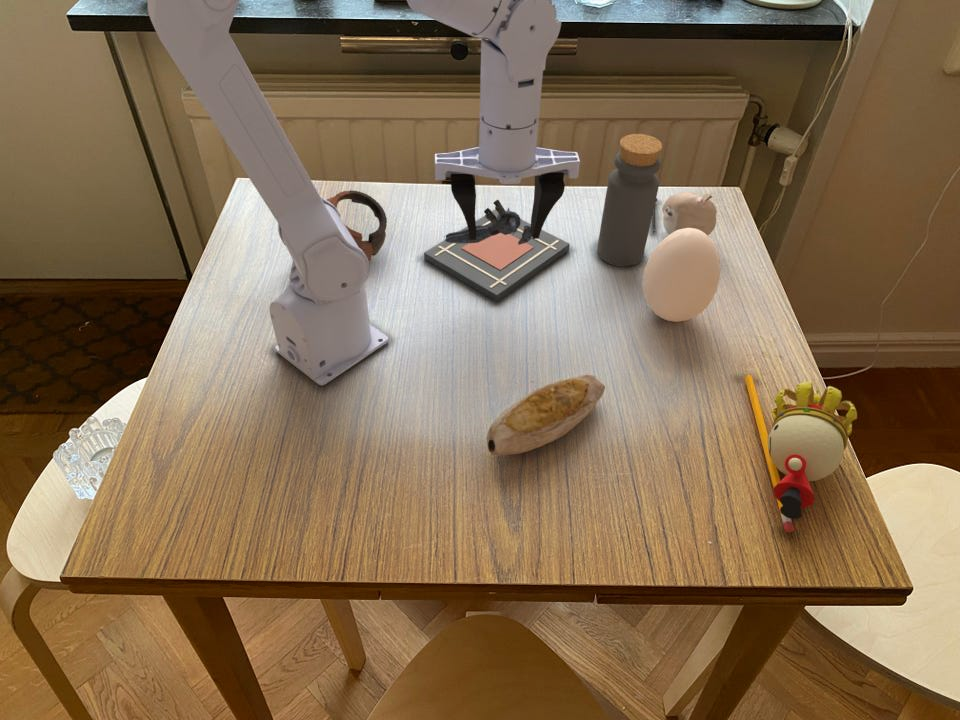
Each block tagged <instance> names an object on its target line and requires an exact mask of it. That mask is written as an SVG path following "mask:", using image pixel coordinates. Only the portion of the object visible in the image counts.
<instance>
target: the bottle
mask: <svg viewBox="0 0 960 720" xmlns="http://www.w3.org/2000/svg"><path fill="white" fill-rule="evenodd" d="M662 150H663V143H662V142H661V141H660V140H659V139H658V138H656V137H654V136H651V135H649V134H645V133H631V134H627V135H625V136H623V137H622V138H621V139H620V140H619V151H618V152H616V154H615V158H614V166H615V169H613V170H612V171H611V172H610V174H609V177H608V180H607V185H606V192H605V198H604V204H603V210H602V217H601V222H600V227H599V229H600V230H599V235H598V241H597V249H596V253H597V255H598V257H599V258H600V259H601V260H602V261H604V262H605V263H608V264H609V265H613V266H616V267H631V266H634V265H637V264H638V263H640V262H641V261H642V260H643V258H644V254H645V250H646V245H647V241H648V237H649V232H650V228H651V224H652V215H653V210H654V206H655V207H656V203H655V201H656V198H658V197H657V196H658V192H659V186H660V179H659V176H657V174H658V172H659V170H660V168H661V165H662V163H661V162H662V161H661V160H662V159H661V158H660V154H661V152H662ZM656 173H657V174H656Z"/></svg>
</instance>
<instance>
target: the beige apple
mask: <svg viewBox="0 0 960 720" xmlns="http://www.w3.org/2000/svg"><path fill="white" fill-rule="evenodd" d="M713 194H714V193H707V194H704V195H701V194H698V193H695V192H692V191H682V192H678V193H675V194H671V195H670V196H668V197H667V199H665V201H664V203H663V206H662V223H663V228H664V230H665V231H666V232H667V233H668V235H669V234H671V233H673V232H674V231H677V230H680V229H684V228H694V229H698V230H700V231H702V232H704V233H705V234H706V235H707V236H708V237H709V235H710V234H712V233H713V232H714V230H715V228H716V225H717V212H718V211H717V207H716V205H715V203H714V202H713V201H712V200H711V199H712V198H714V196H712V195H713Z"/></svg>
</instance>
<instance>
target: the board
mask: <svg viewBox="0 0 960 720" xmlns="http://www.w3.org/2000/svg"><path fill="white" fill-rule="evenodd" d="M491 211H492V213H493V214H494V215H495V216H496V217H497V215H498V214H499V213H498V212H497V210H496V209H495V208H494V209H493V210H491ZM475 223H476V226H484V225H487V224H489V223H490V221H489V220H488V219H487V218H486V217H485V215H483V216H482V217H481V218H478V219H477V220H475ZM524 226H529V227H530V228H531V223H529V222H527V221H526V220H523V219H521V222H520V226H519V228H518V229H517V233H516V232H515V233H514V234H513V233H511V234H507V235H504V234H502V233H499V234H497V235H494V236H490V237H488V238H486V239H484V240H482V241H480V242H478V243H449V242H446V240H445V239H444V240H442V241H440V242H439V243H438V244H436V245H434V246H433V247H431V248H430V249H427V250H426V251H425V252H423V259H424V260H425V261H426V262H429V264H432V265H433V266H435V267H436V268H439V269H440V270H442V271H444V272H445V273H447V274H449V275H450V276H452V277H454V278H456V279H457V280H459V281H460V282H462V283H464V284H466V285H467V286H469V287H471V288H472V289H474V290H476V291H477V292H479V293H481V294H482V295H484V296H485V297H488V298H489V299H491V300H492V301H494V302H496V303H497V302H499V301H500V300H502V299H504V298H505V297H506V296H507V295H508V294H510V293H511V292H513V291H514V290H515V289H517V288H519V287H520V286H522V285H523V284H524V283H525V282H527V281H528V280H529V279H531V278H532V277H534V276H535V275H537V274H538V273H540V272H541V271H542V270H543V269H546V267H548V266H549V265H550V264H552V263H554V262H555V261H557V259H559V258H560V257H562V256H563V255H565V254H566V253H567V252H569V251H570V245H571V244H570V242H567V241H565V240H563V239H561V238H560V237H557V236H555V235H553V234H551V233H549V232H547V231H545V230H543V229H542V230H541V232H540V236H539V238H538V239H533V238H531V239H530V240H529V241H528V242H526V243H523V244H520V245H519V244H518V242H519V240H520V239H521V238H522V233H523V230H524ZM467 229H468V226H466V227H464V228H462V229H461V230H460V231H463V230H467Z"/></svg>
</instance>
